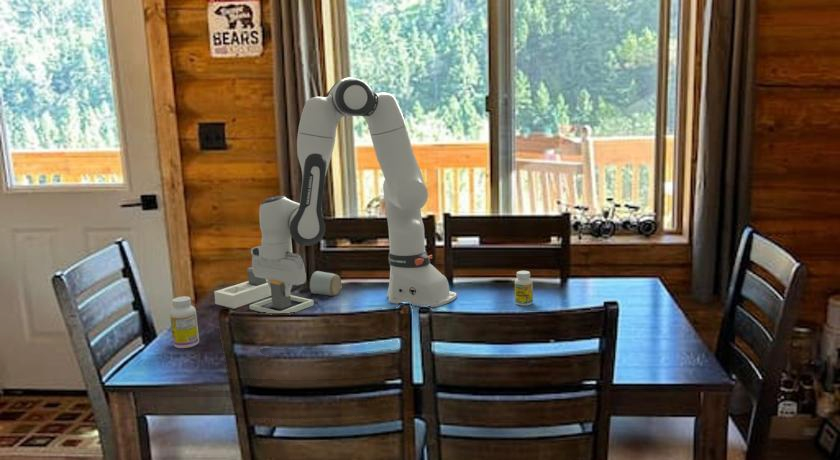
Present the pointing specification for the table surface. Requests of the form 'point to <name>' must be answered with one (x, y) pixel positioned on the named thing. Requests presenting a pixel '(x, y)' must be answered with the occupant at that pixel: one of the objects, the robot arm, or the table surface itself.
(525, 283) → the supplement bottle
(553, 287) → the table surface
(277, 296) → the grey plug
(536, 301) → the table surface
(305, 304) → the white square frame
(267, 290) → the socket strip
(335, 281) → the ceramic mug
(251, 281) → the twin plug
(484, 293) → the table surface
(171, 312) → the supplement bottle
